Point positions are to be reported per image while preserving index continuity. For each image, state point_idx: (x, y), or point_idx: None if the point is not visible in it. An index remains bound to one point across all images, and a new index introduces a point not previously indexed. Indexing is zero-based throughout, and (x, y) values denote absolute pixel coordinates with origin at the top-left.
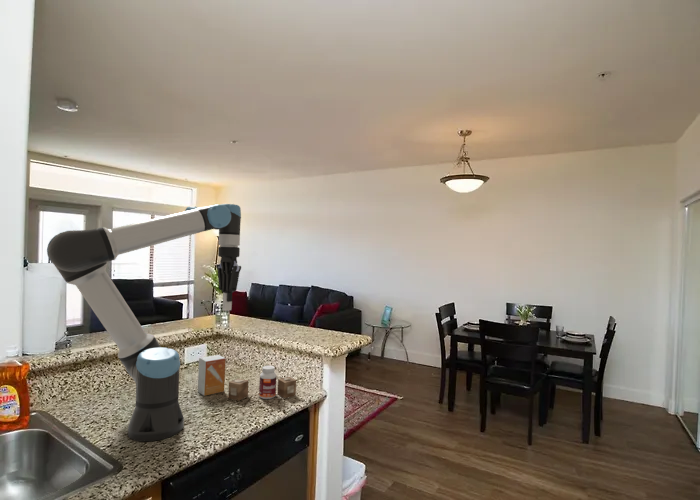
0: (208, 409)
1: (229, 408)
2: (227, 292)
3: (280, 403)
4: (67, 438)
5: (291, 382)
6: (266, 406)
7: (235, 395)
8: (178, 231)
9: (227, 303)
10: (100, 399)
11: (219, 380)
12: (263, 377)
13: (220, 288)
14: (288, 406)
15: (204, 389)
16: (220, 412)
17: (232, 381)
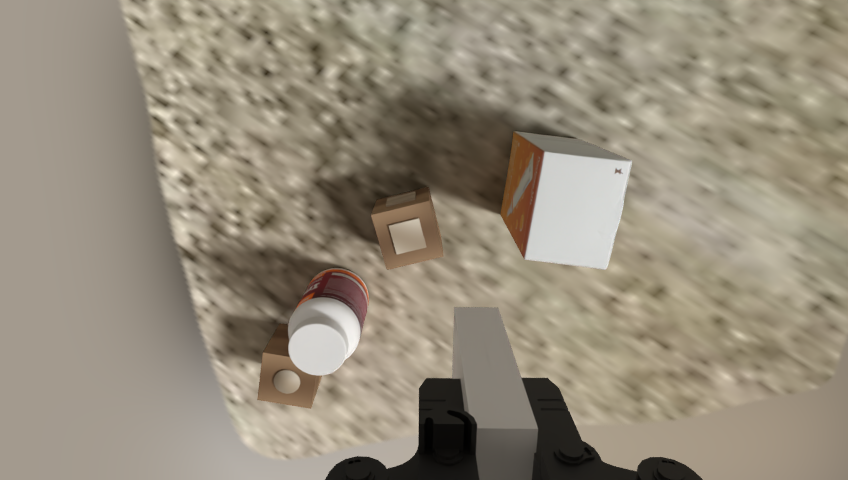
0: (383, 69)
1: (336, 132)
2: (424, 441)
3: (251, 287)
4: None
5: (261, 377)
6: (261, 236)
7: (391, 197)
8: None
9: (458, 372)
10: None
11: (511, 203)
12: (311, 301)
13: (656, 475)
14: (210, 288)
15: (519, 133)
16: (326, 86)
17: (424, 215)
